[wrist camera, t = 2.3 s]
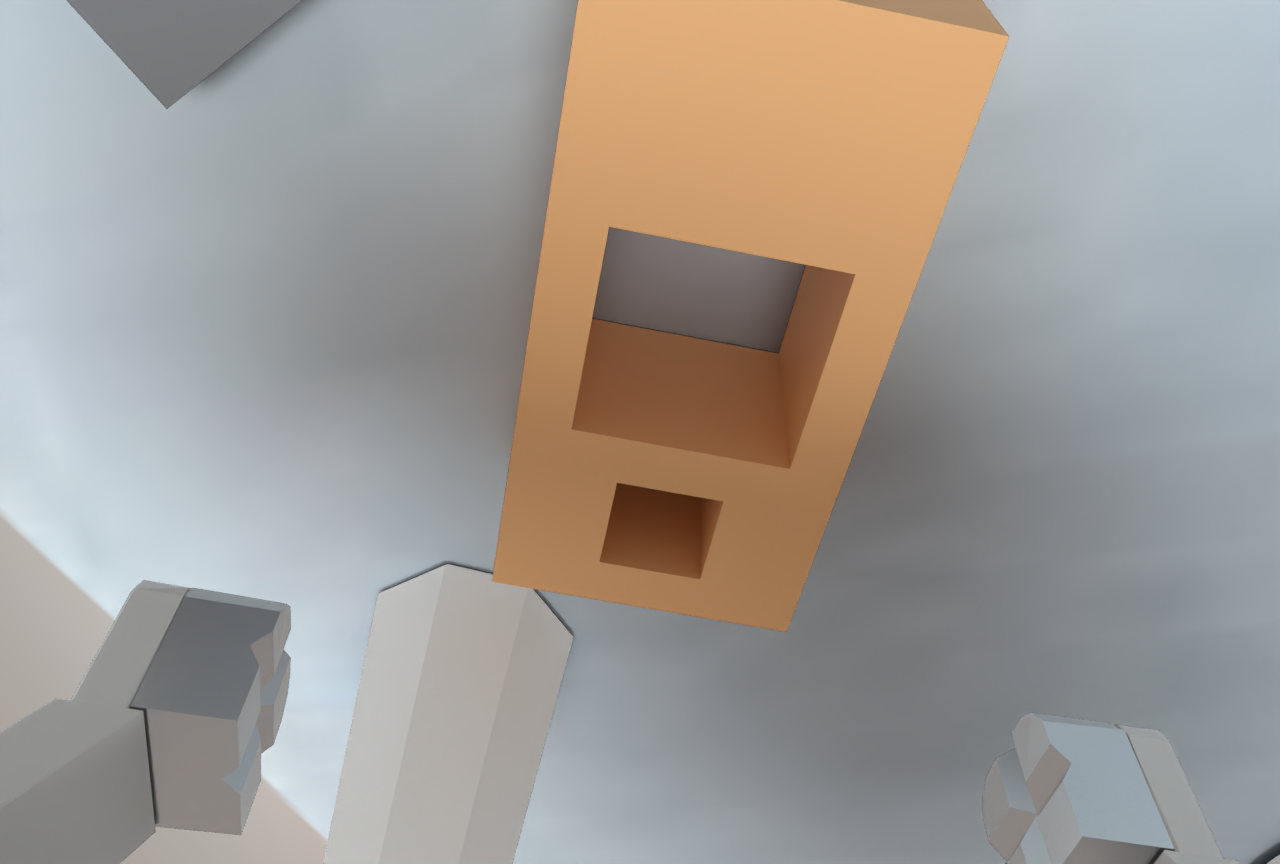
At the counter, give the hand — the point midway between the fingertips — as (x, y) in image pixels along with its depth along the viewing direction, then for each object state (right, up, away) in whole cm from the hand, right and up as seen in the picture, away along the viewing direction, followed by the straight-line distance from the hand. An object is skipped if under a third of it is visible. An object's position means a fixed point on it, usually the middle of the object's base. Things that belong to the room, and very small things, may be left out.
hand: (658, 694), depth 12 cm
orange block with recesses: (+1, +6, +10) cm, 12 cm away
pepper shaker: (-5, -2, +17) cm, 18 cm away
